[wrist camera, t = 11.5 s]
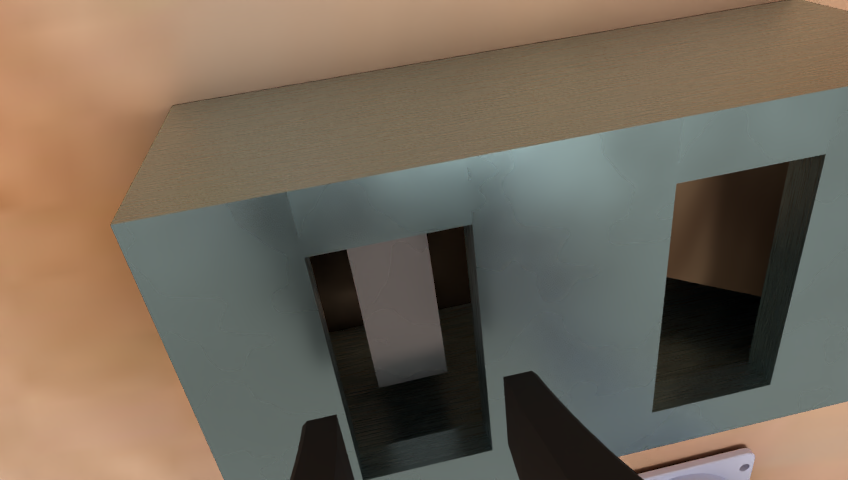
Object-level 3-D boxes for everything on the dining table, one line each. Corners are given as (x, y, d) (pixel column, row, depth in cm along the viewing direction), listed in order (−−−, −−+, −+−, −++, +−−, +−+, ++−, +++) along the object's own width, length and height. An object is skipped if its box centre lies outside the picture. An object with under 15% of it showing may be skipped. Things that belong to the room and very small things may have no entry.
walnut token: (630, 238, 23) (785, 266, 20) (615, 266, 21) (781, 300, 19) (643, 106, 20) (822, 122, 18) (627, 129, 19) (820, 148, 16)
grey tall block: (417, 276, 22) (447, 371, 18) (362, 288, 22) (378, 387, 18) (395, 146, 19) (424, 222, 15) (332, 159, 19) (344, 239, 15)
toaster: (746, 265, 24) (893, 390, 18) (263, 368, 22) (253, 544, 17) (796, -2, 19) (1023, 53, 13) (172, 105, 17) (110, 225, 11)
